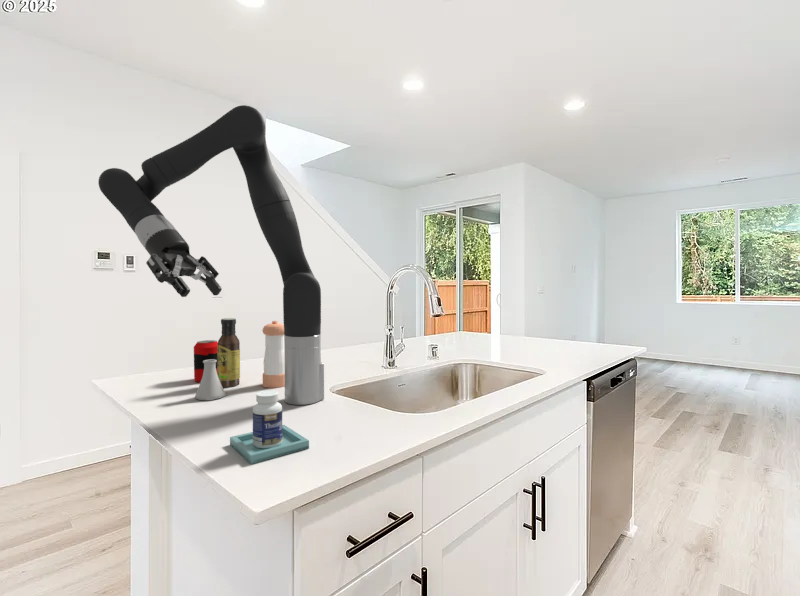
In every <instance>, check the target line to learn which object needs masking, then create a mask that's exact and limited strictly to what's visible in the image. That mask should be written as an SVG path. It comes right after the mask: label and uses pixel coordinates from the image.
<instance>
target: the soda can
mask: <svg viewBox="0 0 800 596" xmlns="http://www.w3.org/2000/svg"><path fill="white" fill-rule="evenodd" d="M217 345H218V340H215V339H212V340H210V339H209V340H200V341H197V342H196V343H195V344H194V346H193V367H194V368H193V375H194V376H193V378H194V379H193V380H194V381H195V382H196V383H200V382H201V379H202V376H203V372H204V363H203V361H204V360H209V359H215V360H217ZM216 371H217V362H216Z"/></svg>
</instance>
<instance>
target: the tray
mask: <svg viewBox="0 0 800 596" xmlns="http://www.w3.org/2000/svg"><path fill="white" fill-rule="evenodd" d="M229 445H230V446H231V447H232V448H233V449H234V450H235V451H236V452H237V453H238V454H239V455H240V456H241V457H242V458H244V459H245V460H246V461H247V462H248V463H249V464H250V465H252V464H253V465H254V464H257V463H261V462H264V461H268V460H271V459H275V458H279V457H282V456H285V455H286V456H287V455H289V454H290V455H291V454H293V453H296V452H299V451H301V452H302V451H305V450H308V449H310V440H309V439H308V438H306V437H305V436H303V435H302V434H300V433H298V432H296V431H295V430H294V429H292V428H290V427H289V426H287V425H285V424H282V443H281V444H280V445H278V446H276V447H272V448H266V449H263V448H257V447H255V446H254V445H253V431H250V432H246V433H242V434H238V435H234V436H229Z"/></svg>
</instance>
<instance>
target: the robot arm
mask: <svg viewBox="0 0 800 596" xmlns="http://www.w3.org/2000/svg"><path fill="white" fill-rule="evenodd" d="M230 149H233V150H234V153H235V155H236V157H237V159H238V161H239V164H240V166H241V168H242V170H243V173H244V176H245V180H246V185H247V190H248V193H249V197H250V200H251V205H252V208H253V211H254V213H255V216H256V219H257V221H258V222H257V223H258V225H259V227H260V230H261V232H262V235H263V236H264V238H265V241H266V243H267V244H268V246H269V248H270V250H271V251H272V254H273V255H274V257H275V259H276V261H277V264H278V268H279V272H280V275H281V280H282V283H283V288H282V290H283V291H282V300H283V301H282V308H283V310H282V311H283V313H282V314H283V315H282V316H283V325H284V358H285V386H284V402H285V403H286V404H289V405H295V406H296V405H297V406H300V405H301V406H305V405H311V404H315V403H318V402H320V401H323V400H325V364H324V363H323V362H322V361H321V360H322V358H321V357H322V356H321V355H322V353H321V349H322V348H321V347H322V346H321V344H322V343H321V342H322V341H321V336H322V335H321V334H322V333H321V332H322V331H321V329H322V328H321V327H322V293H321V292H322V290H321V285H320V282H319V281H318V280H317V278H316V277H315V275H314V273H313V271H312V269H311V267H310V264H309V263H308V262H309V261H308V259H307V257H306V255H305V252H304V247H303V244H302V239H301V234H300V228H299V225H298V221H297V218H296V215H295V211H294V208H293V204H292V202H291V200H290V197H289V195H288V192H287V191H286V189H285V187H284V185H283V183H282V181H281V180H280V178H279V177H278V175H277V172H276V171H275V169H274V166H273V165H272V161H271V157H270V153H269V150H268V145H267V141H266V123H265V119H264V117H263V115H262V113H261V112H260V111H259V110H258V109H257V108H255V107H253V106H250V105H245V104H244V105H238V106H236V107H233V108H231V109H230V110H229V111H227V112H226V113H225V114H224V115H222V116H221V117H219V118H218V119H217V120H215V121H214V122H213V123H211V124H210V125H208V126H207V127H205V128H204V129H202V130H200V131H198V132H197V133H196V134H194V135H192V136H191V137H189V138H186V139H185V140H184V141H181V142H180V143H177V144H176V145H174V146H171V147H170V148H167V149H166V150H163V151H161V152H159V153H157V154H155V155H153V156H152V157H150V158H147V159H145V160H144V161H142V163H141V170H142V172H143V174H142V175H141V176H140V177H139V178H138V179H137V180H136V179H135V178H134V177H133V176H132V174H130V172H128V171H126V170H125V169H122V168H118V167H114V168H113V167H112V168H108V169H105V170H103V171H102V172H101V174H100V175H99V177H98V186H99V190H100V191H101V193H102V194H103V196H104V197H105V198H106V200H108V202H109V203H110V204H111V205H112V206H113V207H114V208H115V209H116V210H117V211H118V212H119V213H120V214H121V216H122V217H123V219H124V220H125V221H126V223H127V225H128V227H130V229H131V230H132V231H133V233H134V234H135V235H136V237H137V239H138V241H139V242H140V244H141V246H143V248H144V249H145V251H146V252H147V253H148V255H149V258H148V260H146V262H145V263H146V265H147V267H148V268H149V269H150V271H151V273H152V274H153V276H154V277H155V279H156V281H158V282H159V283H161V284H163V283H164V282H166V283H167V284H168V285H170V286H171V287H173V289H174V290H175V291H176V293H177V294H179V295H180V296H181V297H182V298H184V297H185V298H186V297H187V296H188V295H189V294H190V292H191V288H190V287H189V286H188V284H187V283H186V282H185V281H184V279H183V278H182V277H190V278H192V279H193V280H195V281H197V280H199V281H200V282H202V283H204V285H205V286H206V288H207V289H208V290H209V292H211V294H212V295H213V296H219V294H220V293H221V291H222V286H220V284H219V283H218V281H217V280H216V278H217V277H218V276H219V275H220V274H219V272H218V271H217V270H216V268H215V267H214V266H213V265H212V264H211V263H210V262H209V261H208V259H207V258H206V257H205V256H200V258H195V257H194V256H193V255H191V252H190V245H189V244H188V243H187V241H186V240H185V239H184V237H183V236H182V235H181V234H180V232H179V231H178V230H177V229H176V228H175V226H174V225H173V224H172V223H171V222H170V221H169V220H168V219H167V218H166V216H165V215H164V214H163V213H162V212H161V210H160V209H159V208H158V207H157V205H155V204H154V203H153V202H152V201H153V200H154V199H156V197H158V196H159V195H160V194H161V193H162V192H163V191H164V190H165V189H166V188H168V187H170V186H172V185H174V184H176V183H178V182H180V181H182V180H184V179H186V178H187V177H189V176H190V175H192V174H194V173H195V172H196V171H198V170H199V169H201V168H202V167H203V166H204V165H205V164H206V163H208V162H209V161H210V160H212V159H213V158H214V157H216V156H218V155H220V154H221V153H223V152H225V151H228V150H230ZM197 270H198V272H197V273H195V272H196V271H197Z"/></svg>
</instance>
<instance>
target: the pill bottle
mask: <svg viewBox="0 0 800 596" xmlns="http://www.w3.org/2000/svg"><path fill="white" fill-rule="evenodd" d="M255 396H256V397H255V401H256V402H257V403H256V404H255V405H254V406H253V407H252V432H253V445H254V446H255V447H257V448H263V449H266V448H272V447H276V446H278V445H280V444H281V443H282V425H283V405H282V404H281V402H279V392H278V391H277V390H263V391H259V392H257V393H256V395H255Z"/></svg>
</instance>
